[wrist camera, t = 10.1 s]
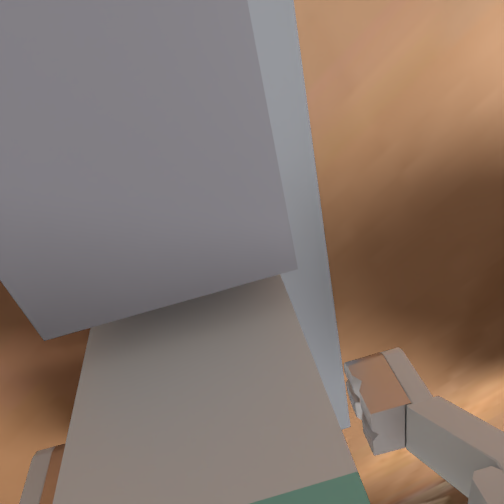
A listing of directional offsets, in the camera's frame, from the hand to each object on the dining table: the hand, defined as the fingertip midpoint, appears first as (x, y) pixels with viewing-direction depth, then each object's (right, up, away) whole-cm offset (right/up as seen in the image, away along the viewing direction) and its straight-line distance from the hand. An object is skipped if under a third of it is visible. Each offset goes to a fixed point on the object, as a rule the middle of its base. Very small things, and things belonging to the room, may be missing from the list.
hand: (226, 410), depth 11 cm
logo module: (-1, +3, +4) cm, 5 cm away
